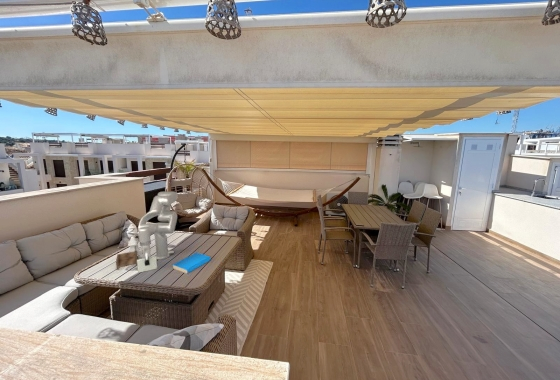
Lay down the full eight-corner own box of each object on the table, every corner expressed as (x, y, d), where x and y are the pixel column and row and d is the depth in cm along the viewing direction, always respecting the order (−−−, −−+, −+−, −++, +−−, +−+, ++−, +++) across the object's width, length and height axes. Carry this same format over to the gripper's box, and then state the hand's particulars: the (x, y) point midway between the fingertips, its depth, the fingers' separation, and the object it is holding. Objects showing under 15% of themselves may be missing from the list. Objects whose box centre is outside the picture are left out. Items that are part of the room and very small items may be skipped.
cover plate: (156, 267, 183) (156, 255, 181) (157, 268, 181) (156, 256, 179) (138, 271, 176) (137, 259, 174) (138, 272, 174) (137, 260, 172)
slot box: (137, 258, 197) (136, 250, 196) (137, 265, 185) (136, 257, 184) (118, 262, 190) (117, 254, 189) (116, 269, 178) (115, 261, 177)
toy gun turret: (144, 250, 212) (142, 232, 209) (140, 257, 200) (139, 238, 196) (129, 252, 208) (127, 234, 205) (125, 258, 196) (123, 239, 192)
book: (172, 264, 181) (196, 252, 203) (172, 269, 182) (196, 256, 204) (187, 269, 174) (210, 256, 196) (187, 274, 175) (210, 260, 197)
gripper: (151, 245, 170) (153, 267, 173) (150, 238, 183) (152, 259, 186) (139, 247, 166) (141, 270, 169) (139, 240, 179) (141, 261, 182)
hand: (147, 264), depth 178 cm, fingers closed on cover plate, 2 cm apart
